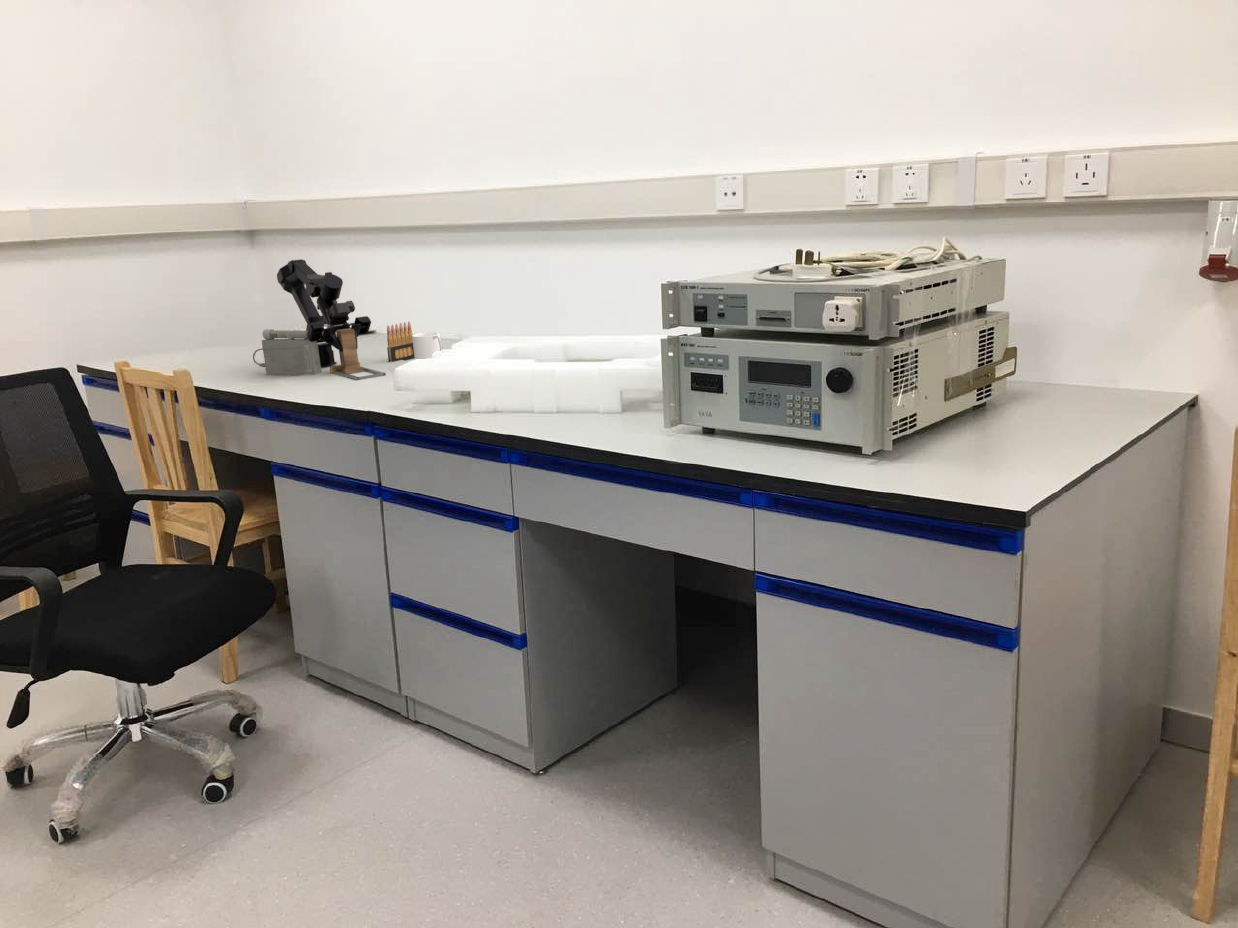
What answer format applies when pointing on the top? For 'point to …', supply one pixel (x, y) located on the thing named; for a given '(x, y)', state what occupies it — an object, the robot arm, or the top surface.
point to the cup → (426, 344)
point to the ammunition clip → (400, 343)
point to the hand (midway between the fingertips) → (349, 349)
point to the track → (376, 374)
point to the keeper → (348, 352)
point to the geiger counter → (289, 353)
